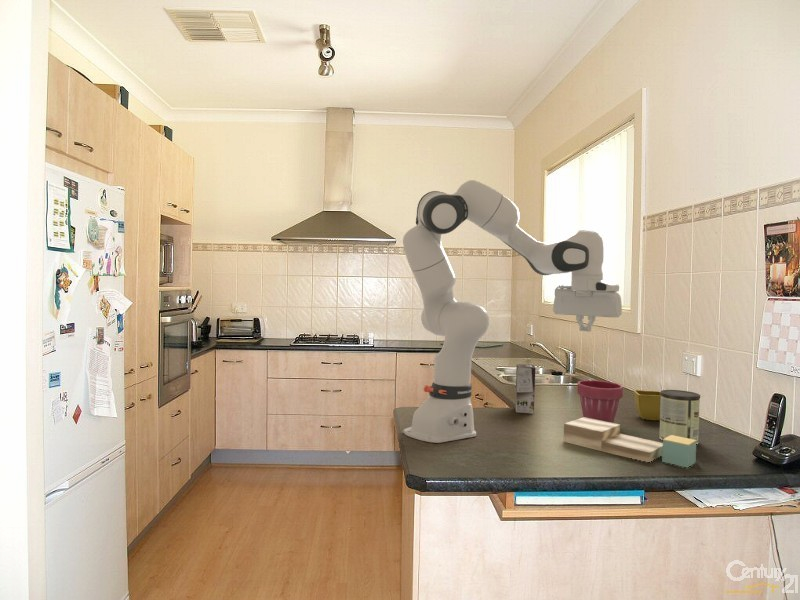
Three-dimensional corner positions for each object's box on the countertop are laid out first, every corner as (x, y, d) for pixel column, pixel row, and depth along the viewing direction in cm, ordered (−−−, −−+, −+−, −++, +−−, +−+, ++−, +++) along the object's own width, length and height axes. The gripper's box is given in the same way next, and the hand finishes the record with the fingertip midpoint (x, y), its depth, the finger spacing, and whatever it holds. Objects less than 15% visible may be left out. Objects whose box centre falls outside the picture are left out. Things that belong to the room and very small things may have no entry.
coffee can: (660, 433, 159) (661, 388, 159) (698, 439, 154) (700, 392, 153) (657, 441, 150) (659, 393, 150) (698, 448, 145) (700, 398, 144)
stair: (649, 463, 131) (650, 442, 131) (563, 441, 148) (564, 423, 148) (666, 453, 139) (666, 434, 139) (583, 434, 156) (583, 417, 156)
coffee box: (534, 414, 180) (535, 367, 180) (515, 412, 182) (516, 366, 181) (533, 408, 189) (534, 364, 189) (515, 407, 191) (516, 363, 190)
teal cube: (662, 439, 132) (662, 462, 132) (688, 444, 128) (687, 468, 128) (671, 434, 136) (670, 457, 136) (696, 440, 132) (695, 463, 132)
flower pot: (637, 420, 175) (638, 394, 175) (632, 414, 183) (633, 389, 183) (665, 423, 173) (667, 396, 172) (659, 416, 181) (660, 391, 181)
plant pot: (618, 430, 161) (620, 389, 161) (572, 423, 168) (573, 384, 168) (623, 420, 174) (625, 383, 174) (580, 414, 181) (581, 378, 181)
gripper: (550, 284, 161) (548, 329, 161) (615, 285, 146) (614, 334, 146) (560, 285, 165) (558, 328, 165) (624, 285, 150) (623, 333, 151)
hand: (585, 331), depth 156 cm, fingers closed
